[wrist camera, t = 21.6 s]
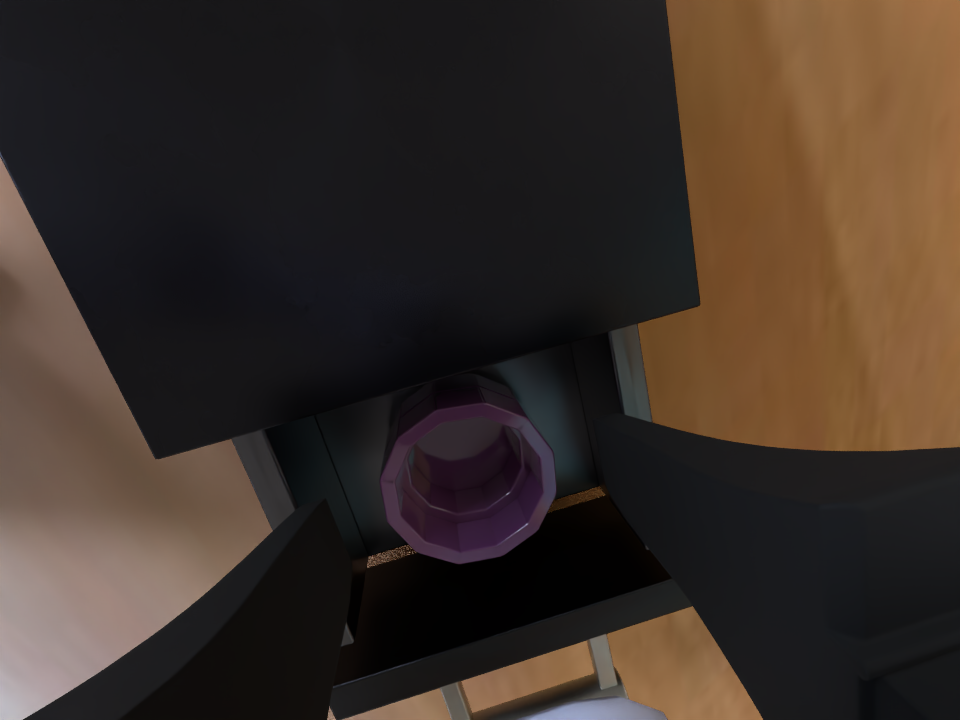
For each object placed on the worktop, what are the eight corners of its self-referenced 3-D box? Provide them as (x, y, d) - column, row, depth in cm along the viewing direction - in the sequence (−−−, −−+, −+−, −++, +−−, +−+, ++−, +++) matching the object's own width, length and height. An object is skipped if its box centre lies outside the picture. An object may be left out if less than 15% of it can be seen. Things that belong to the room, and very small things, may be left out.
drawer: (648, 610, 19) (717, 721, 15) (396, 692, 18) (388, 833, 14) (571, 192, 14) (639, 169, 10) (228, 282, 14) (136, 300, 9)
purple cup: (550, 399, 15) (584, 439, 12) (495, 514, 16) (513, 580, 13) (421, 348, 14) (421, 378, 11) (369, 475, 15) (355, 536, 12)
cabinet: (597, 282, 16) (702, 306, 10) (258, 376, 15) (154, 461, 9) (513, -186, 12) (600, -587, 6) (63, -92, 12) (-311, -443, 6)
